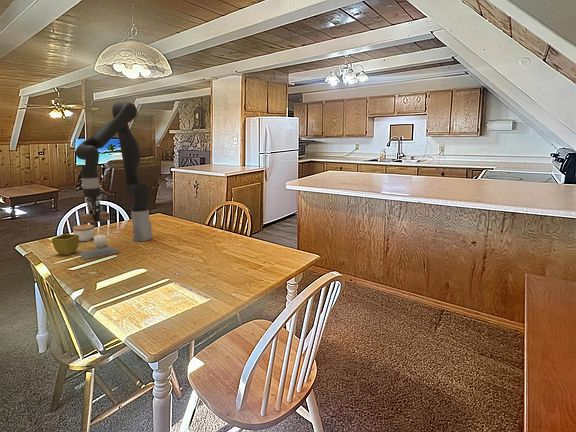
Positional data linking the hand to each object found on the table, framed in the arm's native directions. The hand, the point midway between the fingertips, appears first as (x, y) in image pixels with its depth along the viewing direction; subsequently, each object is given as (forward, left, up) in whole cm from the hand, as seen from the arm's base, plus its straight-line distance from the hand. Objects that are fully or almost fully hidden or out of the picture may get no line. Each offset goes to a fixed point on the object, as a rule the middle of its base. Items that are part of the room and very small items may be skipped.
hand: (95, 220), depth 184 cm
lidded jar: (-1, -30, -18) cm, 35 cm away
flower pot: (+12, -10, -18) cm, 23 cm away
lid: (0, 0, 0) cm, 0 cm away
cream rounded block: (-4, -11, -17) cm, 21 cm away
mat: (0, 0, -17) cm, 17 cm away
